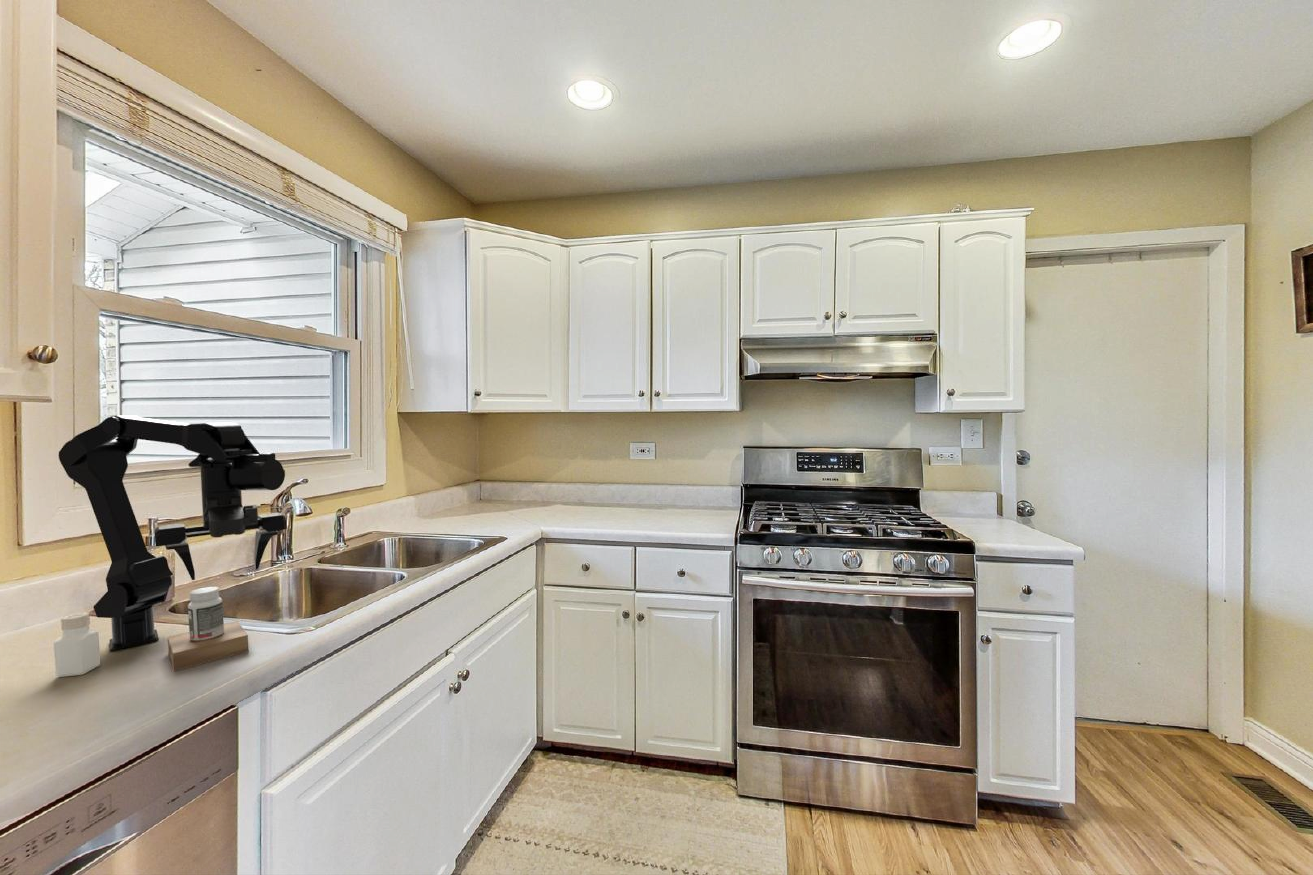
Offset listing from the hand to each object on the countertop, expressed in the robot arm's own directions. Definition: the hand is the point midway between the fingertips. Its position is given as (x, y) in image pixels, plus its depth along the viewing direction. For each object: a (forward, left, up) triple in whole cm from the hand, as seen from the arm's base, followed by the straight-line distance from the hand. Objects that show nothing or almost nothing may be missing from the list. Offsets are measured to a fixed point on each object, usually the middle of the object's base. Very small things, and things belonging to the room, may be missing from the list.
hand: (225, 574), depth 100 cm
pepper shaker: (-5, -19, -13) cm, 24 cm away
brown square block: (+2, -3, -13) cm, 14 cm away
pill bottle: (+2, -3, -10) cm, 11 cm away
